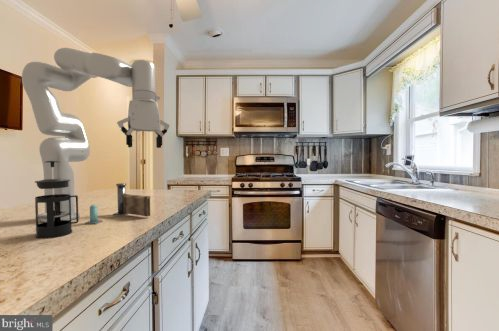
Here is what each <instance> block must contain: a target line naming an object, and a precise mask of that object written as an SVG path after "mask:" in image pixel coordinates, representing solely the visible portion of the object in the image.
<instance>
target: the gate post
mask: <svg viewBox="0 0 499 331" xmlns="http://www.w3.org/2000/svg"><path fill="white" fill-rule="evenodd" d="M115 186H116V188H117V189H116V191H117V192H116V193H117V212H115V213H112V216H126V215H128V214H127V213H123V194H126V186H127V183H125V182H120V183H116V184H115Z"/></svg>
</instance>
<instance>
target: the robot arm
mask: <svg viewBox="0 0 499 331" xmlns="http://www.w3.org/2000/svg"><path fill="white" fill-rule="evenodd" d="M53 59H54V61H55V64H56V65H57V66H56V65H52V64H49V63H46V62H42V61H31V62H30V61H29V62H28V63H26V64H25V65H24V67H23V69H22V72H21V73H22V74H21V83H22V86H23V88H24V91H25V93H26V95H27V97H28V99H29V101H30V105H31V109H32V112H33V115H34V119H35V121H36V126H37V128H38V131H39V132H40V133H41V134H43V135H46V136H52V137H48V138H45V139H43V140H42V142H40V145H39V155H40V158H41V163H42V170H43V180H45V179H52V167H51V164H50V162H45V161H60V162H54V167H53V174H54V179H68V180H70V181H69V187H65V188H54V194H70V195H71V196H72V195H75V179H74V178H75V174H74V170H73V168H72V166H71V164H70V163H75V162H78V163H79V162H83V161H86V160H87V159H88V158H89V156H90V152H91V148H90V145H89V143H90V142H89V141H88V137H87V133H86V130H85V126H84V123H83V121H82V120H81V119H80V118H79V117H78V116H76V115H75V114H71V113H66V112H63V111H62V110H61V108H60V106H59V105H60V104H59V102H58V100H57V98H56V96H55V95H54V93H52V91H51V90H50V89H49V88H51V89H54V90H58V91H63V92H72V91H75V90H76V89H78V88H79V87H81V86H82V85H83V84H85V83H86V82H88V81H89V80H90V79H94V78H98V77H99V78H102V79H105V80H109V81H111V82H113V83H117V84H120V85H122V86H125V87H128V88H131V93H132V94H131V95H132V98H131V99H132V100H130V101H129V103H128V113H127V117H125V118H124V119H123V118H122V119H121V120H118V121H116V124H117V125H118V126H117V127H118V128H119V130H120V131H121V132H122V133H123V134H124V135H125V139H126V140H125V144H126V146H127V148H132V147H133V135H132V133H133V132H136V131H137V132H153V133H155V134H156V138H155V139H156V140H155V142H156V146H155V147H156V148H157V149H161V148H162V146H163V137H164V135H166V133H167V132H168V130H169V128H170V124H168V123H167V122H165V121H164V120H161V115H160V109H159V104H158V102H156V101H160V97H161V96H158V95H157V93H156V67H155V64H154V63H153V62H151V61H149V60H145V59H136V60H134V61H133V62H132V64H130V63H128V62H125V61H124V60H121V59H119V58H117V57H114V56H110V55H107V54H103V53H100V52H99V53H98V52H86V51H84V50H83V51H82V50H78V49H74V48H70V47H61V48H58V49H57V50H56V51H55V52H54V54H53ZM124 124H127V128H128V129H127V128H126V127H125V125H124ZM161 126H163V129H162V130H161ZM43 192H44V195H53V189H43ZM44 195H43V196H44ZM60 211H68V212H69V200H67V201H60ZM44 213H47V209H46V203H44ZM78 218H80V213H79V212H78ZM61 220H69V221H70V216H69V215H67V216H64V217H61ZM73 220H76V197H71V221H73ZM39 221H40V222H41V223H45V222H47V219H40V218H39Z"/></svg>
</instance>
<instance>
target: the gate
mask: <svg viewBox="0 0 499 331" xmlns="http://www.w3.org/2000/svg"><path fill="white" fill-rule="evenodd" d="M123 213H127V215H135V216H140V217H142V216H143V217H150V216H151V196H150V195H141V194H131V193H129V194H128V193H125V194H123Z"/></svg>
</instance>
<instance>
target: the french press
mask: <svg viewBox="0 0 499 331" xmlns="http://www.w3.org/2000/svg"><path fill="white" fill-rule="evenodd" d="M45 162H50V164H51V167H52V179H45V180H44V179H42V180H35V181H34V183H35V184H36V186H37V188H38V189H40V190H44V189H53V195H39V196H35V197H34V204H35V206H34V207H35V232H36V233H35V238H36V239H42V240H43V239H54V238H55V239H56V238H60V237H65V236H68V235H70V234H72V233H73V229H72V225H74V224H78V223H79V221H80V220H79V217H78V213H79V197H78V195H77V194H74V195H72V196H71V195H70V194H54V188H65V187H69V181H70V180H68V179H54V174H53V167H54V162H60V161H45ZM71 197H74V198H75V213H76V219H75V220H76V221H72V220H71ZM67 200H69V212H68V211H60V201H67ZM38 203H39V204H45V203H46V209H47V213H45V212H44V213H39V204H38ZM67 215H69V216H70V220H61V217H64V216H67ZM40 219H47V222H41V223H39V220H40Z"/></svg>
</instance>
